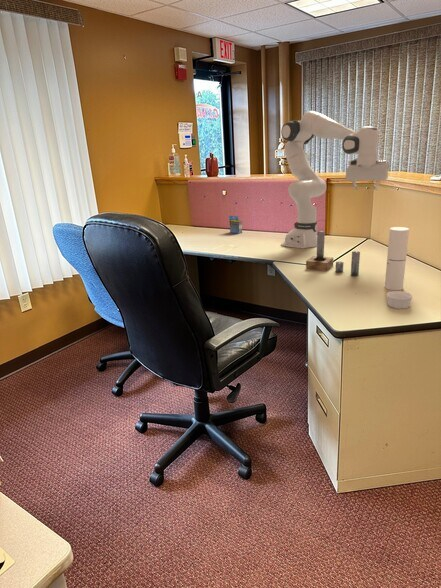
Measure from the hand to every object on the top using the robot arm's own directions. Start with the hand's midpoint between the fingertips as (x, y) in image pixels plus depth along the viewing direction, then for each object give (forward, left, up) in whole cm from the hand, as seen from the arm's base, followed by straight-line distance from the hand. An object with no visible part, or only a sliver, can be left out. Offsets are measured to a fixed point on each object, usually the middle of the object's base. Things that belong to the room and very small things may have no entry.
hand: (365, 189), depth 211 cm
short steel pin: (-3, -31, -35) cm, 47 cm away
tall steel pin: (-14, -27, -35) cm, 46 cm away
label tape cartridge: (-96, +35, -35) cm, 108 cm away
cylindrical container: (+24, -45, -35) cm, 62 cm away
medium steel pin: (+5, -34, -35) cm, 49 cm away
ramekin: (+29, -65, -35) cm, 80 cm away
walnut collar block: (-14, -27, -35) cm, 46 cm away
